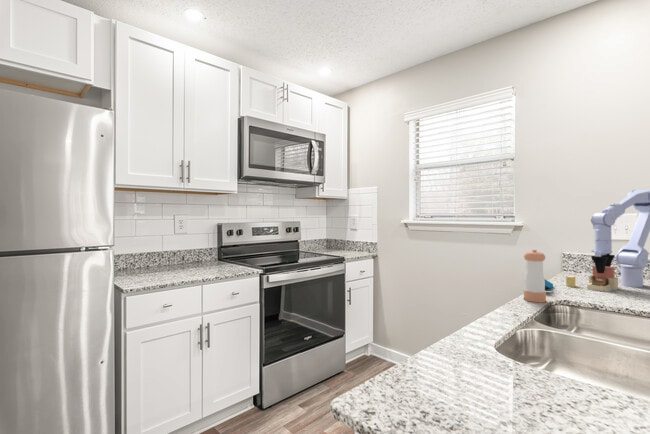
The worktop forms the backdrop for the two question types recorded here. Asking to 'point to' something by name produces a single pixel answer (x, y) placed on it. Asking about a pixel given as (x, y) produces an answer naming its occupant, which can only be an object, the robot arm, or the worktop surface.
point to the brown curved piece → (599, 281)
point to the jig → (608, 288)
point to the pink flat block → (605, 272)
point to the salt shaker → (534, 277)
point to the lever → (548, 284)
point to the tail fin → (570, 281)
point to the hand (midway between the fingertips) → (603, 272)
